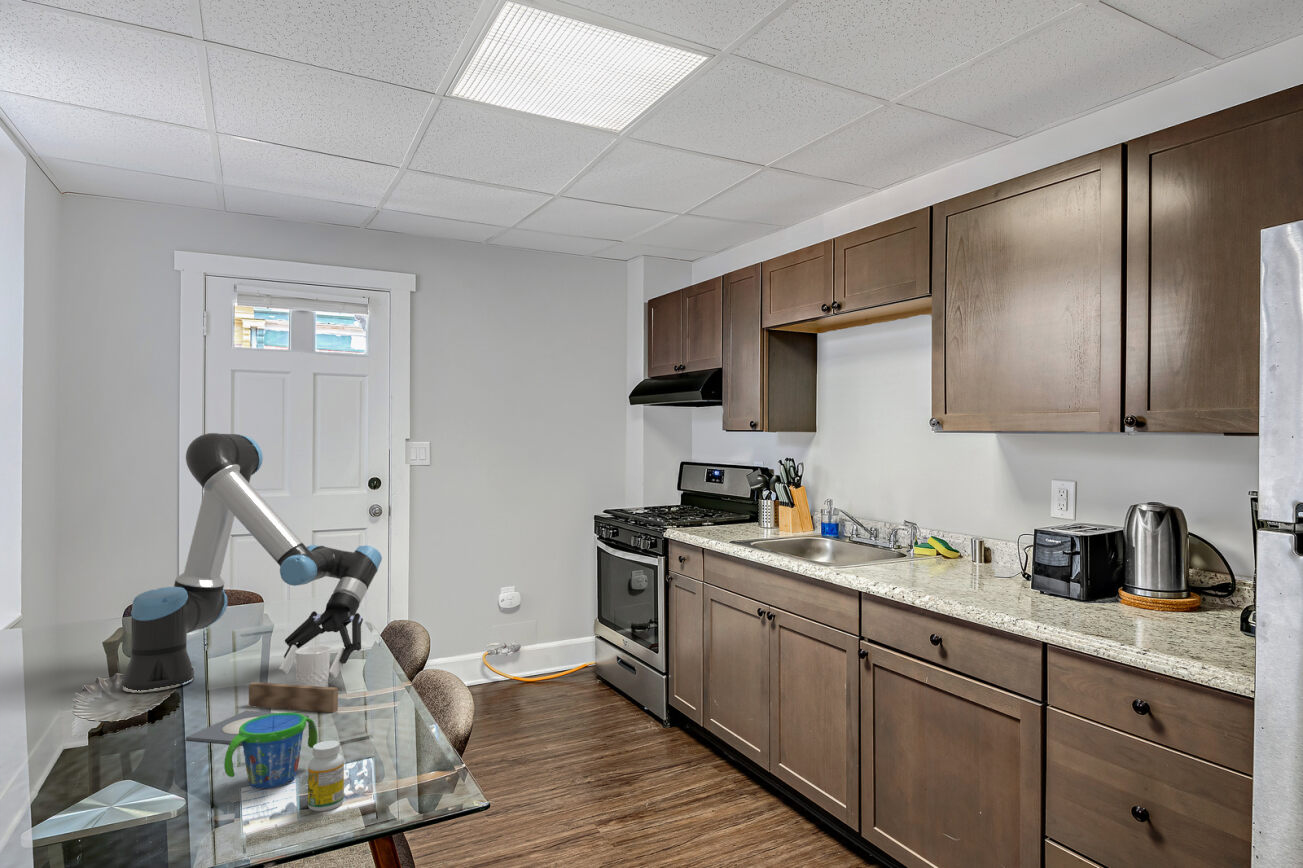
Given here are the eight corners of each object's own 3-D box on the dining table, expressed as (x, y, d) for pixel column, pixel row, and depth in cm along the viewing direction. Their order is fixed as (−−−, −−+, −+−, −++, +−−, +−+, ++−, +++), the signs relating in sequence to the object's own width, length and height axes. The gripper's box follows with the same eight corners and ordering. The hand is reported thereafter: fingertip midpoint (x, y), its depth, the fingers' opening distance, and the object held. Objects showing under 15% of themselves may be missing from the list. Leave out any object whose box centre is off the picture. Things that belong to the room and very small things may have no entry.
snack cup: (237, 806, 120) (237, 742, 120) (212, 788, 127) (213, 728, 127) (330, 774, 132) (331, 716, 132) (303, 759, 139) (304, 704, 139)
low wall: (248, 706, 169) (249, 684, 169) (253, 704, 171) (253, 682, 171) (333, 712, 164) (333, 689, 165) (337, 710, 166) (337, 687, 166)
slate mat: (186, 740, 149) (186, 736, 149) (246, 713, 164) (246, 709, 164) (254, 746, 145) (254, 742, 145) (308, 718, 161) (308, 714, 161)
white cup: (316, 697, 175) (316, 654, 176) (287, 695, 177) (287, 653, 177) (337, 687, 183) (337, 646, 184) (308, 685, 185) (309, 645, 185)
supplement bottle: (344, 808, 119) (344, 748, 119) (307, 815, 117) (307, 753, 117) (343, 794, 124) (343, 736, 124) (308, 801, 122) (308, 741, 122)
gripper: (394, 608, 193) (360, 683, 178) (311, 605, 199) (270, 678, 183) (383, 591, 188) (346, 667, 173) (297, 589, 194) (255, 662, 178)
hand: (307, 673), depth 178 cm, fingers open, 13 cm apart
